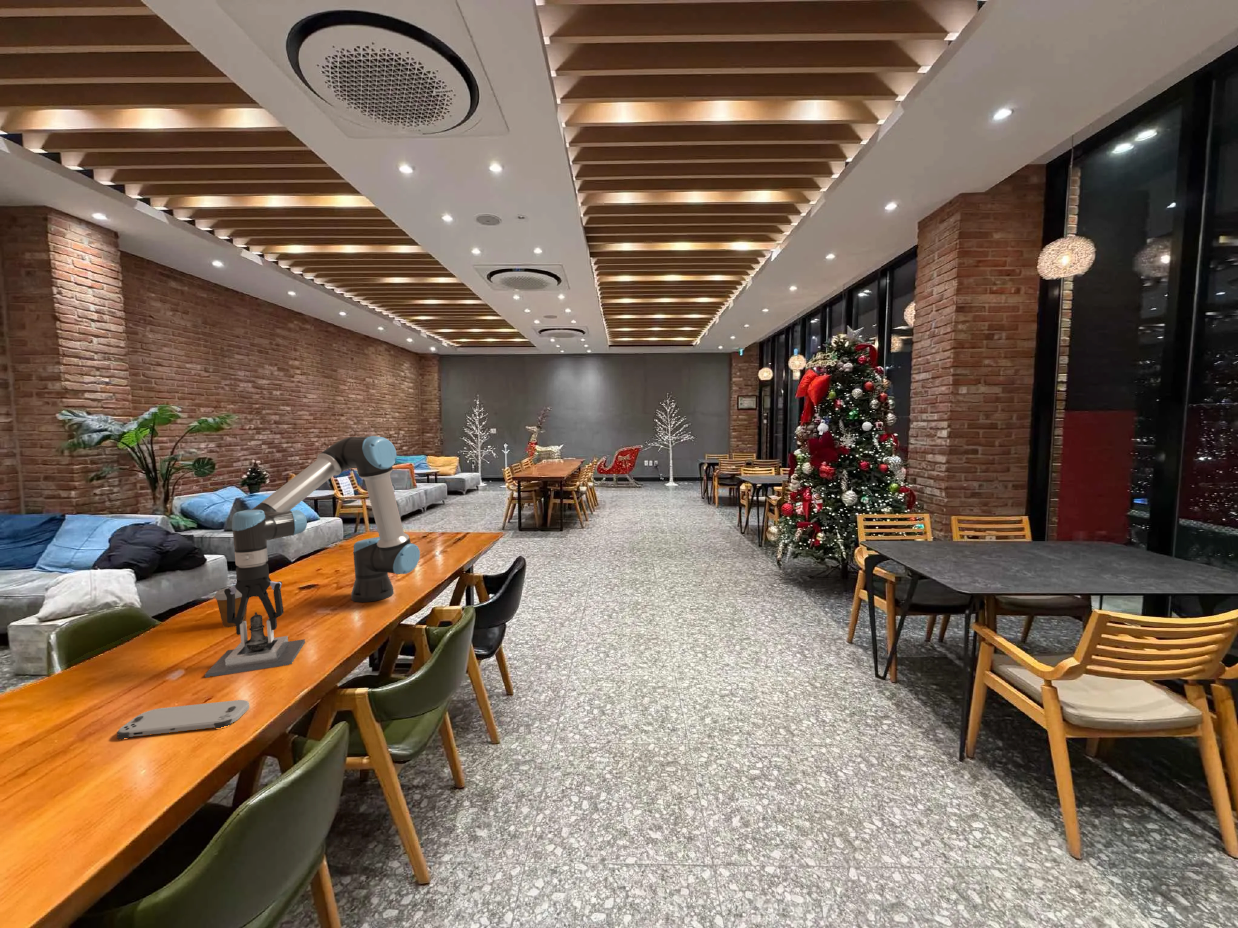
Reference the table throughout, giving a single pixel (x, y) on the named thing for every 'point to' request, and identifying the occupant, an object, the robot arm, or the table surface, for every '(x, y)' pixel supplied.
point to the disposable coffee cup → (222, 606)
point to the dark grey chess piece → (257, 635)
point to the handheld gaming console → (184, 718)
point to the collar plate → (279, 662)
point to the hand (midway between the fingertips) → (257, 642)
